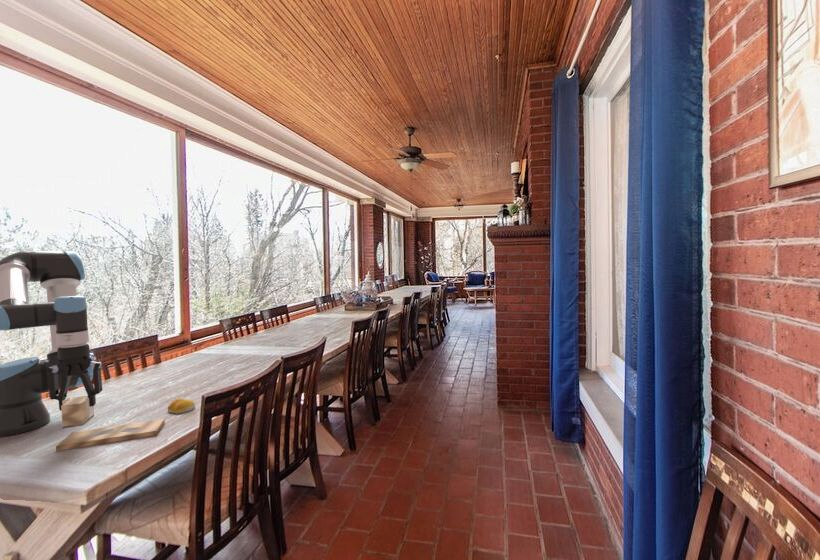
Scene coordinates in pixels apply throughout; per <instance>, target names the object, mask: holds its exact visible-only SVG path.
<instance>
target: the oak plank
mask: <svg viewBox="0 0 820 560" xmlns="http://www.w3.org/2000/svg"><path fill="white" fill-rule="evenodd" d="M165 421H166V420H165V418H162V419H152V420H146V421H142V422H132V423H127V424H121V425H113V426H106V427H99V428H93V429H92V428H91V429H86V430H78V431H73V432H70V433H69V434H68V435H67V436H66V437H65V438H63V440H61V441H60V442H59V443H58V444H57V445H55V449H56V450H55V451H56V452H60V451H65V450H71V449H78V448H84V447H89V446H97V445H102V444H109V443H116V442H121V441H129V440H134V439H141V438H146V437H147V438H148V437H153V436H158V435H159V434H160V431H161V430H162V428H163V426H164V425H165V423H166V422H165Z"/></svg>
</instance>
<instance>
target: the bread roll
mask: <svg viewBox="0 0 820 560" xmlns="http://www.w3.org/2000/svg"><path fill="white" fill-rule="evenodd" d="M194 408H195V402H194V400H192V399H185V398H177V399H174V400H173V401H171V402H170V403H169V404H168V406H167V410H168V412H169V413H171V414H172V413H173V414H183V413H186V412H190V411H192V410H193V409H194Z"/></svg>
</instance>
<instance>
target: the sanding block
mask: <svg viewBox="0 0 820 560" xmlns="http://www.w3.org/2000/svg"><path fill="white" fill-rule="evenodd" d="M87 396H88V395H82V396H75V397H72V398H70V400H69V401H68V402H66V403H65V404H63V405H62V406H61V420H62V421H61V424H62V429H68V428H76V427H82V426H84V425H85V424H86V423H88V422H89V421H90V420H91V419H93V418H94V417H95V409H94V406H93V415H92V416H91V417H90V418H87V416H86V402H85V398H86V397H87Z"/></svg>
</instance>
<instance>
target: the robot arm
mask: <svg viewBox="0 0 820 560" xmlns="http://www.w3.org/2000/svg"><path fill="white" fill-rule="evenodd" d="M85 276H86V275H85V269H84V264H83V260H82V258H81V256H80V254H79V253H78V252H76V251H69V250H67V251H66V250H59V251H58V250H52V251H51V250H49V251H47V250H45V251H44V250H43V251H42V250H41V251H35V250H34V251H31V250H29V251H27V250H25V251H19V252H15V253H11V254H9V255H7V256H5V257H3V258H2V259H0V331H5V332H6V331H9V330H11V331H12V330H19V329H27V328H29V329H30V328H35V327H36V328H39V327H47V326H49V331H50V341H51V342H50V343H51V350H50V351H49V352H48V353H47V354H46V359H43V360H40V358H39V357H38V356H32V357H30V356H29V357H22V358H20V359H19V358H18V359H15V360H11V361H8V362H5V363H1V364H0V437H1V438H2V437H8V436H9V437H10V436H15V435H19V434H23V433H26V432H30V431H33V430H36V429H39V428H41V427H43V426H45V425H47V424H48V423H50V422H51V415H50V413H49V410H48V408H47V407H46V405H45V404H44V402H43V397H42V394H46V393H49V399H50V400H52V401H53V400H57V401H58V409H59V411H61V406H62V405H63V404H65V403H66V402H68V401H69V400H71V398H70V397H68V393H69V392H68V390H69V389H73V388H78V387H80V386H83V387H84V390H85V392H86V394H87V395H86V396H87V397H86V398H85V402H86V416H87V418H90V417H91V416H92V415H93V407H94V406H96V405H97V404H96V403H97V399H96V395H99V394H100V393H101V392H102V391H103V382H102V381H103V380H102V370H101V369H102V365H103V361H95V354H94V352H91V351H90V344H88V343H89V341H90V335H89V327H88V326H89V325H88V312H87V311H88V310H87V309H88V308H87V307H88V305H87V300H86V296H84V295H78V292H77V291H78V290H77V288H78V287H79V286H80V285H81V281H83V280H84V279H85ZM30 282H31V283H32V282H37V283H40V287H41V288H43V289H45V290H46V297H47V298H46V300H47V302H34V303H30V298H29V297H30V295H29V286H28V283H30ZM92 380H93V382H92Z"/></svg>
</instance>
